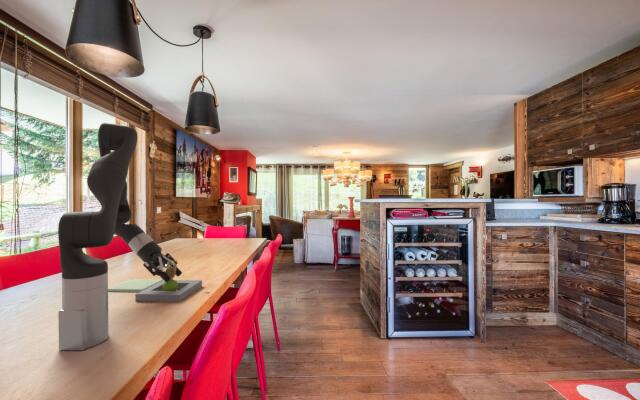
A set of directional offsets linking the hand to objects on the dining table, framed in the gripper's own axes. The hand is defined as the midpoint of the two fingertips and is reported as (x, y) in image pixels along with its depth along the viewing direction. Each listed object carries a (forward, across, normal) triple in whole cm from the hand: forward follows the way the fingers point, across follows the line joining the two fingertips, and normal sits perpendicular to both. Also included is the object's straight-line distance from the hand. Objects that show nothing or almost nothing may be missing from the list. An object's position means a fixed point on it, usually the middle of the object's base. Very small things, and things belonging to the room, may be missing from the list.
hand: (174, 277), depth 113 cm
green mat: (-10, +8, +19) cm, 23 cm away
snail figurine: (+3, 0, +6) cm, 6 cm away
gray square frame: (+3, 0, +5) cm, 6 cm away
